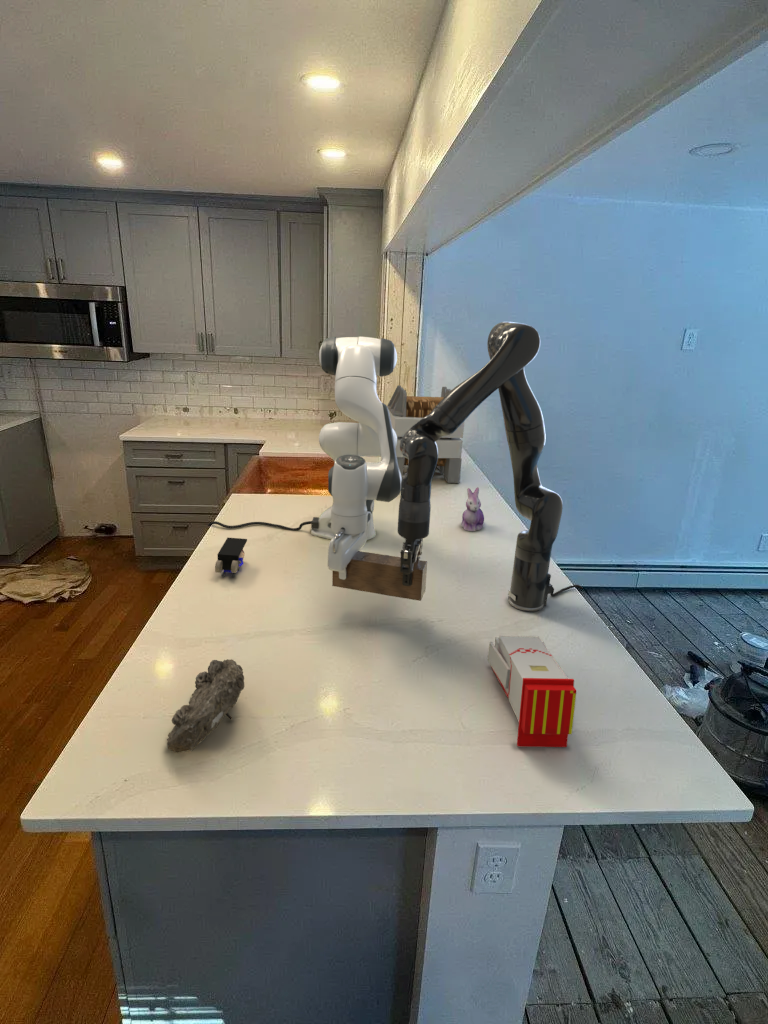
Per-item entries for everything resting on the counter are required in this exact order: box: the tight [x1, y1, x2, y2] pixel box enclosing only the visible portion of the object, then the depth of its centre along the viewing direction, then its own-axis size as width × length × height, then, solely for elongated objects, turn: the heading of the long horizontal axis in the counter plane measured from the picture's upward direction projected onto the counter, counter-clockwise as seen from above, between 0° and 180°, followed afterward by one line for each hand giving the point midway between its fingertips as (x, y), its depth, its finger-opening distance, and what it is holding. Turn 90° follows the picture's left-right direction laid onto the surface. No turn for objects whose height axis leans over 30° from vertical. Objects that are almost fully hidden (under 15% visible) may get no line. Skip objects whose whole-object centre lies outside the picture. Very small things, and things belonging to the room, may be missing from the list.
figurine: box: [461, 486, 485, 532], centre depth 206 cm, size 9×10×15 cm
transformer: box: [386, 384, 465, 484], centre depth 268 cm, size 34×33×41 cm
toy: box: [486, 635, 577, 748], centre depth 115 cm, size 12×13×30 cm
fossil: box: [166, 658, 245, 754], centre depth 106 cm, size 22×10×15 cm
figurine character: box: [214, 537, 248, 578], centre depth 166 cm, size 7×8×15 cm
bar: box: [331, 550, 428, 602], centre depth 142 cm, size 23×6×8 cm, turn 74°
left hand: (347, 572), depth 144 cm, fingers closed on bar, 5 cm apart
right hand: (410, 579), depth 140 cm, fingers open, 6 cm apart
